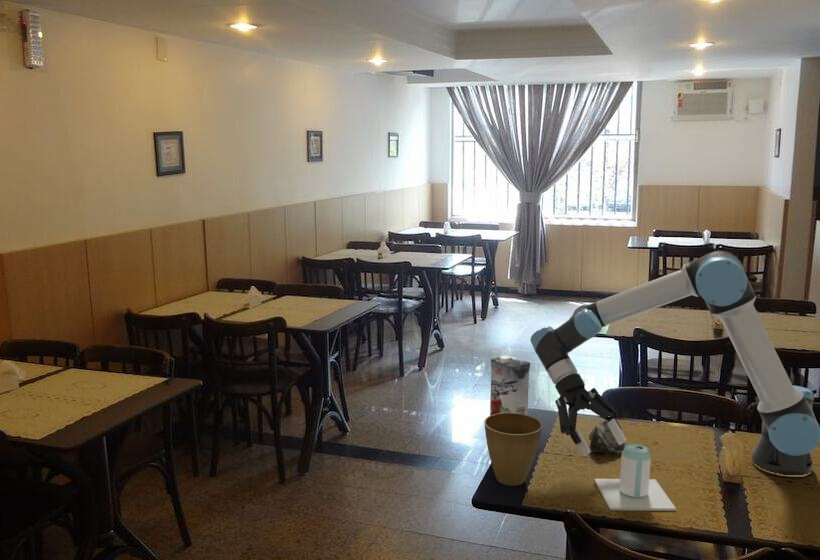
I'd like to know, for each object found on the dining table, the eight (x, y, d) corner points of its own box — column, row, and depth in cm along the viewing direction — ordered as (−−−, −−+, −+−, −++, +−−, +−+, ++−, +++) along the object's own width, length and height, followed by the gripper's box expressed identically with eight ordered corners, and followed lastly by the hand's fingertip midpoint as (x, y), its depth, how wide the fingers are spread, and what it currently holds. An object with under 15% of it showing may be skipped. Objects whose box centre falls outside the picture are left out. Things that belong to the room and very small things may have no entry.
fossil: (626, 457, 213) (611, 426, 213) (596, 468, 216) (581, 438, 215) (625, 441, 224) (611, 412, 223) (596, 452, 227) (582, 423, 226)
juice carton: (508, 435, 230) (511, 349, 225) (530, 447, 222) (534, 358, 217) (484, 440, 226) (487, 353, 221) (506, 453, 217) (509, 362, 212)
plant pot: (472, 482, 199) (473, 424, 196) (501, 463, 210) (502, 408, 207) (522, 498, 190) (524, 438, 187) (549, 477, 202) (552, 420, 199)
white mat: (655, 481, 200) (655, 479, 200) (675, 510, 184) (675, 508, 184) (594, 480, 200) (594, 478, 200) (609, 510, 184) (610, 507, 184)
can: (617, 485, 196) (620, 442, 194) (645, 487, 195) (648, 443, 193) (621, 498, 189) (624, 453, 187) (650, 500, 188) (654, 454, 186)
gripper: (590, 377, 219) (628, 444, 209) (525, 393, 205) (563, 465, 196) (605, 364, 214) (645, 431, 204) (539, 380, 200) (579, 452, 190)
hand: (605, 448), depth 200 cm, fingers open, 13 cm apart
